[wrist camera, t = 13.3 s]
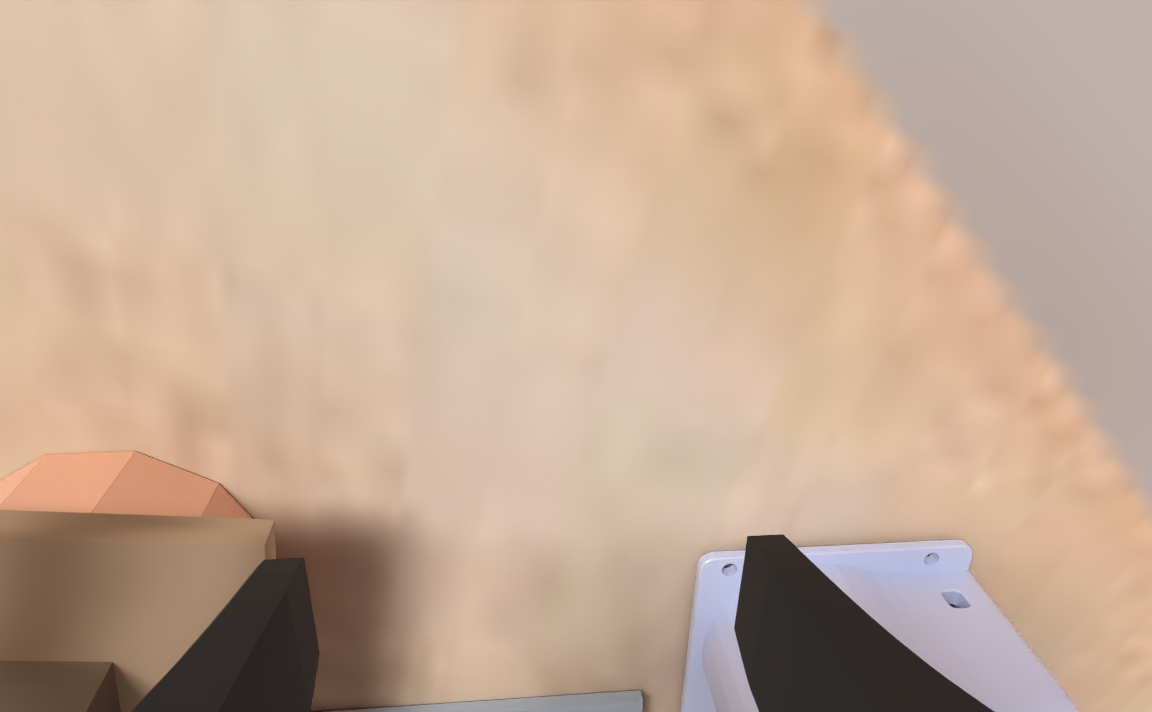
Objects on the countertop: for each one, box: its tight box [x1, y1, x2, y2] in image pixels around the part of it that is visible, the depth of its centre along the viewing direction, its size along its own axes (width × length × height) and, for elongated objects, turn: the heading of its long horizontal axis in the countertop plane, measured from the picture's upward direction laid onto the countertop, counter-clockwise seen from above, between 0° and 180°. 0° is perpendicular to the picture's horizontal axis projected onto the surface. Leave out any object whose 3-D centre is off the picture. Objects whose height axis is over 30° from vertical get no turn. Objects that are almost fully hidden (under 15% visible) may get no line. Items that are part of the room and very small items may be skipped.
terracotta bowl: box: [0, 451, 253, 519], centre depth 23 cm, size 9×9×4 cm
